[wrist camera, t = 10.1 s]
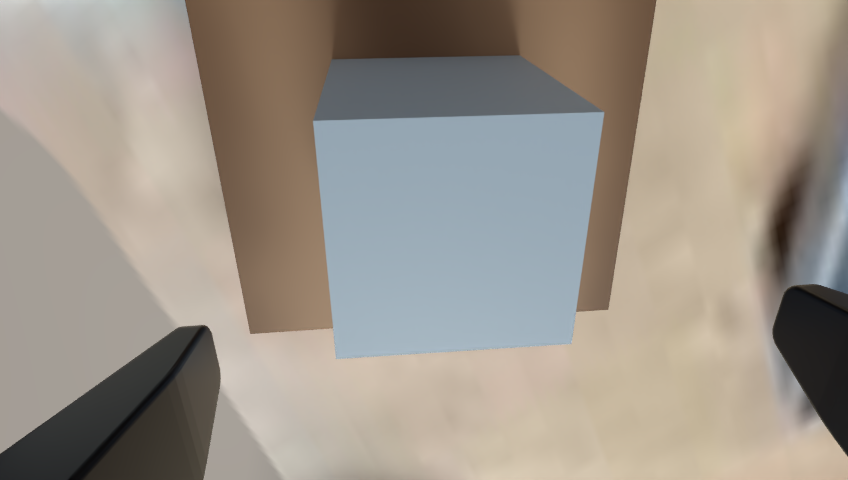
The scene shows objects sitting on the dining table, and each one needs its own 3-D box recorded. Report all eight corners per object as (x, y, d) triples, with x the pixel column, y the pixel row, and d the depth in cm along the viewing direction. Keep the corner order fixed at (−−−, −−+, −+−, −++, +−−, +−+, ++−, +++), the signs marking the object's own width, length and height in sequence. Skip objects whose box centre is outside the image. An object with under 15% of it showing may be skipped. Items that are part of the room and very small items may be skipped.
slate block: (519, 55, 15) (604, 112, 10) (508, 223, 17) (571, 344, 12) (331, 59, 15) (312, 120, 9) (345, 231, 17) (336, 359, 12)
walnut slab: (609, -89, 17) (671, -101, 14) (570, 253, 23) (607, 309, 19) (210, -83, 16) (166, -94, 13) (269, 272, 22) (250, 333, 18)
